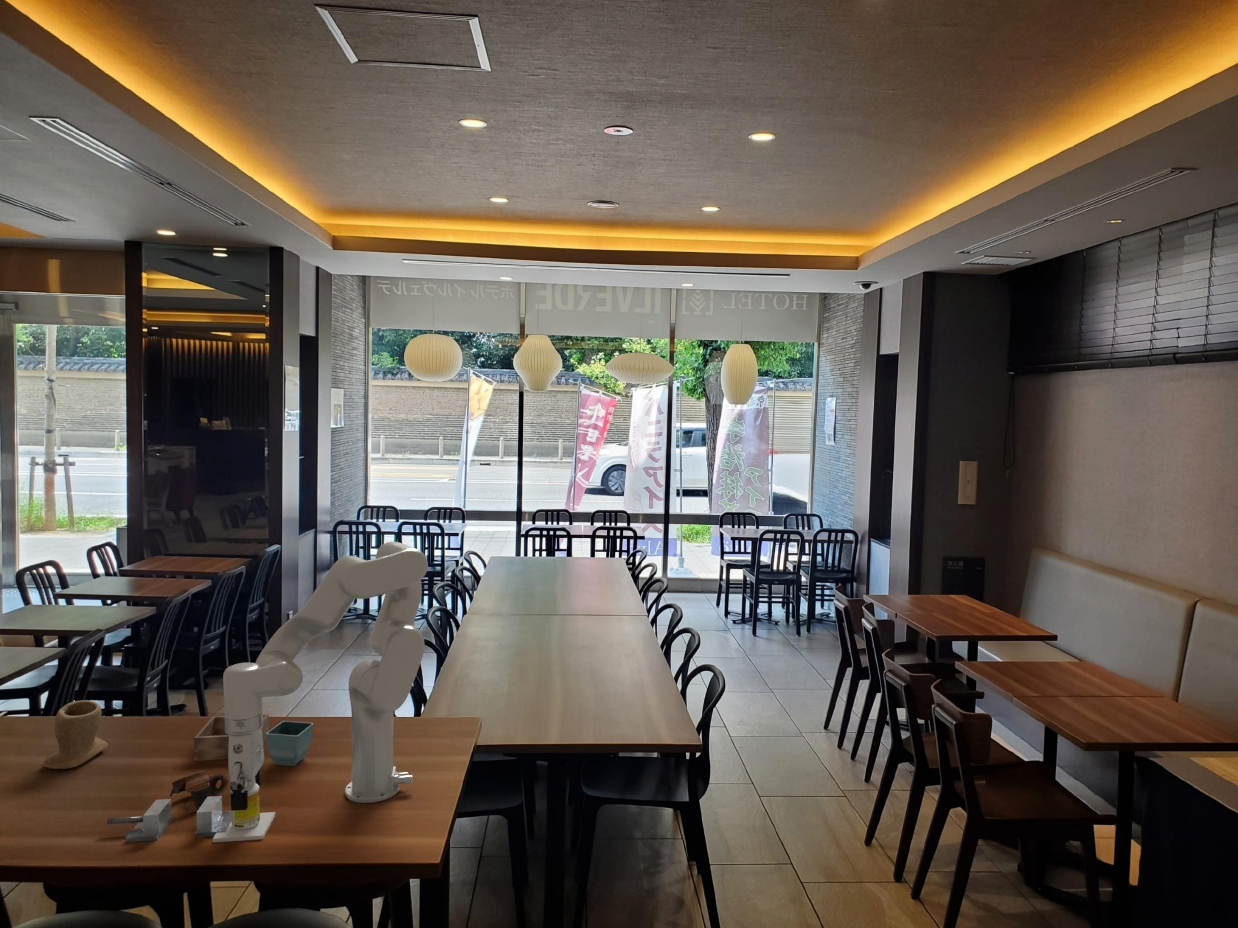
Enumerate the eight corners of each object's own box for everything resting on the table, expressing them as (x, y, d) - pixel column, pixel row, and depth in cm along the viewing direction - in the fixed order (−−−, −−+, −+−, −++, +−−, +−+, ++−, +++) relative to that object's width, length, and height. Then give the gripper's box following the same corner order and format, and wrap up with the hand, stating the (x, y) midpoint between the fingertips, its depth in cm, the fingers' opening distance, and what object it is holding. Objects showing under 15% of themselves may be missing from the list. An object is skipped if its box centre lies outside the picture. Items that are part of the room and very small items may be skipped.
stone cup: (79, 774, 198) (78, 714, 197) (34, 771, 199) (32, 712, 198) (122, 748, 213) (121, 693, 212) (80, 745, 214) (79, 691, 213)
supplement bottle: (264, 824, 175) (263, 778, 174) (238, 833, 171) (237, 787, 170) (253, 815, 179) (252, 770, 178) (227, 824, 175) (226, 778, 174)
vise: (238, 814, 180) (237, 792, 180) (225, 835, 172) (225, 812, 171) (117, 821, 176) (117, 799, 176) (98, 843, 167) (98, 820, 167)
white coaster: (275, 815, 180) (275, 811, 180) (263, 838, 171) (263, 835, 170) (227, 818, 179) (227, 814, 179) (212, 842, 169) (212, 838, 169)
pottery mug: (172, 820, 178) (163, 783, 180) (181, 819, 187) (172, 784, 189) (230, 797, 183) (221, 761, 185) (236, 797, 192) (227, 763, 194)
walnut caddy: (269, 734, 224) (268, 713, 223) (254, 757, 209) (254, 734, 209) (213, 737, 221) (212, 716, 221) (194, 760, 207) (193, 737, 207)
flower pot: (314, 755, 211) (314, 722, 211) (298, 770, 203) (297, 735, 202) (282, 753, 212) (282, 720, 212) (265, 768, 203) (264, 733, 203)
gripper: (251, 737, 165) (253, 817, 166) (272, 705, 182) (274, 778, 184) (212, 739, 164) (214, 820, 165) (237, 707, 181) (239, 780, 182)
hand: (246, 798), depth 174 cm, fingers open, 9 cm apart
